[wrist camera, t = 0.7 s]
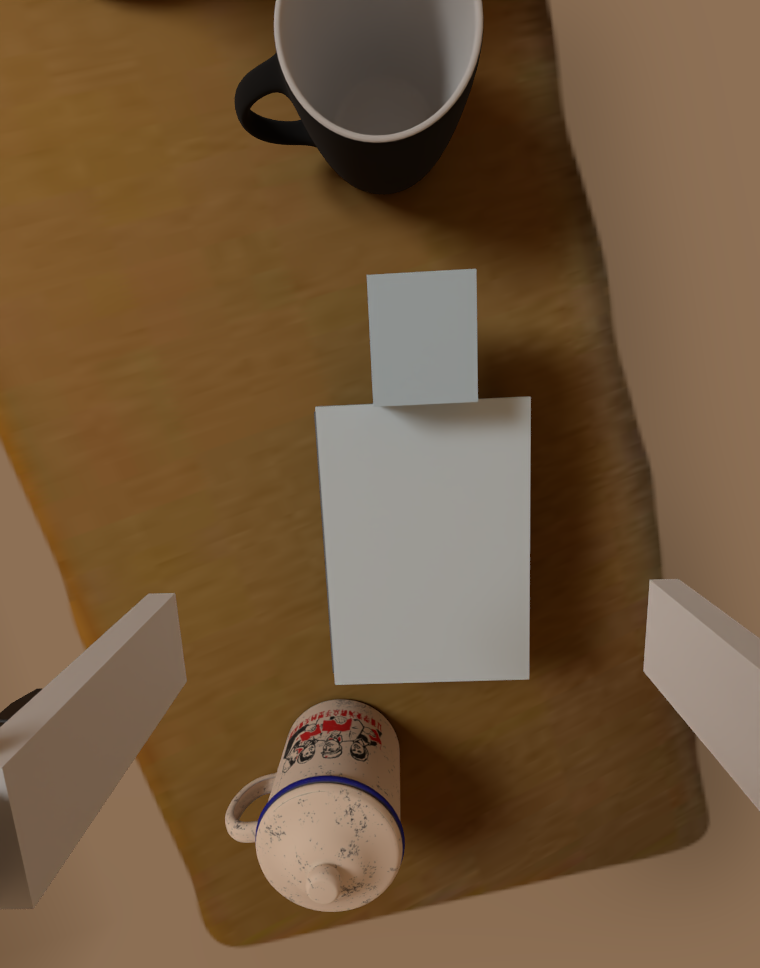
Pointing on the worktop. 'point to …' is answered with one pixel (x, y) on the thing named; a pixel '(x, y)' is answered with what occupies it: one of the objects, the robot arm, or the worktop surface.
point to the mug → (369, 83)
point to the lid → (426, 499)
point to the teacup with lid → (329, 809)
